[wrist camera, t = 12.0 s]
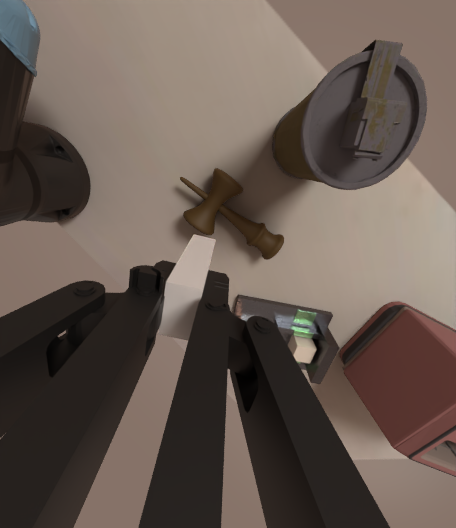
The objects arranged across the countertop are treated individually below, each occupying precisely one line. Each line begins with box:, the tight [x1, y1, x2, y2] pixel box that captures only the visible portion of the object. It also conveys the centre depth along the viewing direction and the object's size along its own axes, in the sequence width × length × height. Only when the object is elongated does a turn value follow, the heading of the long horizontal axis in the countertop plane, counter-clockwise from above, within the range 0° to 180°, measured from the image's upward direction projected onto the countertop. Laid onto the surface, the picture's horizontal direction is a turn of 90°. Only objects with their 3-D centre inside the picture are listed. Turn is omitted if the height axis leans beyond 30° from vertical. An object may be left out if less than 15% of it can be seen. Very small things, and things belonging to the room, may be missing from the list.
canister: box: [273, 40, 427, 190], centre depth 26 cm, size 11×10×20 cm
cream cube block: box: [288, 334, 317, 364], centre depth 48 cm, size 4×4×4 cm
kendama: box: [180, 168, 284, 259], centre depth 38 cm, size 6×10×20 cm
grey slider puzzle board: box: [234, 295, 339, 384], centre depth 48 cm, size 20×16×7 cm
